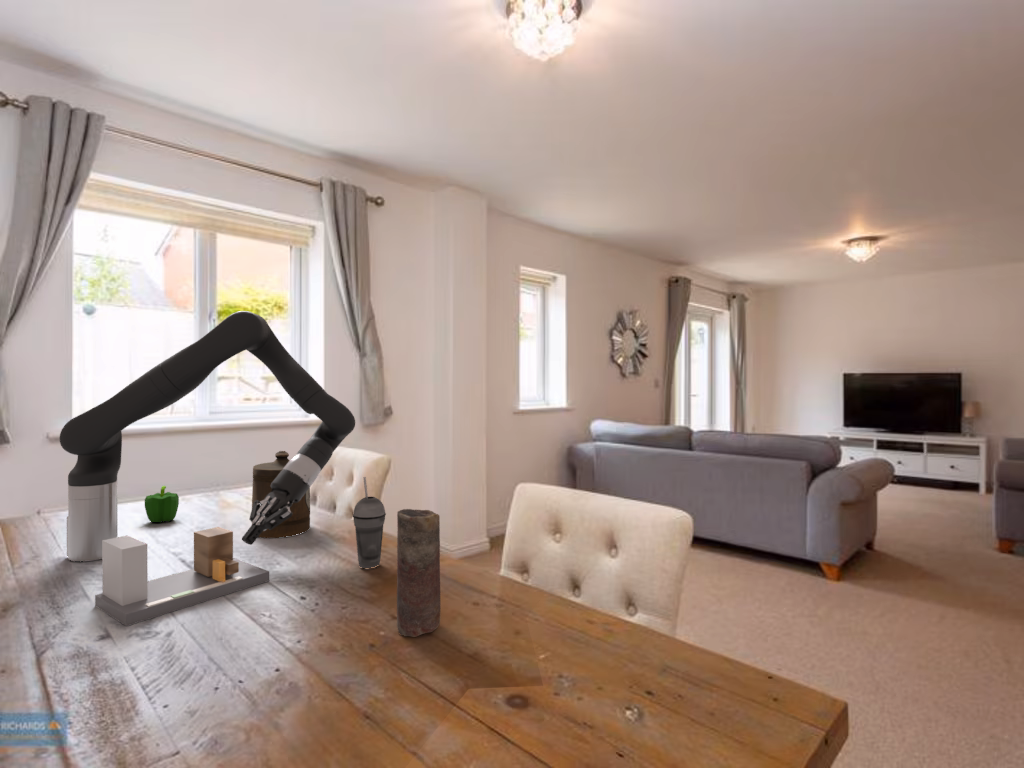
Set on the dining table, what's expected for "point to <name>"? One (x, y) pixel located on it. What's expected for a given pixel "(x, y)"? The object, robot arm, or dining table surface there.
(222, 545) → the brown block
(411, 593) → the rough stone vase
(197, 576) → the gauge base
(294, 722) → the dining table surface
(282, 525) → the wooden container
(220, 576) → the pointer
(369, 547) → the beverage cup
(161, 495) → the bell pepper
